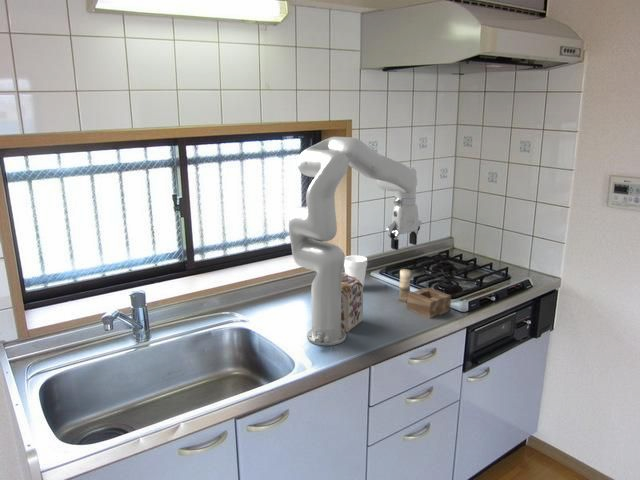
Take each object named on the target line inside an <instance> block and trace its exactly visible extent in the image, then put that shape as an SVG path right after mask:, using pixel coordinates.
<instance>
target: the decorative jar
mask: <svg viewBox="0 0 640 480" xmlns="http://www.w3.org/2000/svg"><path fill="white" fill-rule="evenodd" d="M363 313H364V286H363V285H362V284H361V283H360V281H359V280H357V279H356V278H355V277H353V276H348V274H347V273H345V271H344V272H342V282H341V329H342V330H343V331H344V332H345V333H349V332H350V331H351V330H352V329H354V328H355V327H357V326H358V325H359V324H360V323H361V322H362V321H363V318H364V317H363V315H364V314H363Z"/></svg>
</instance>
